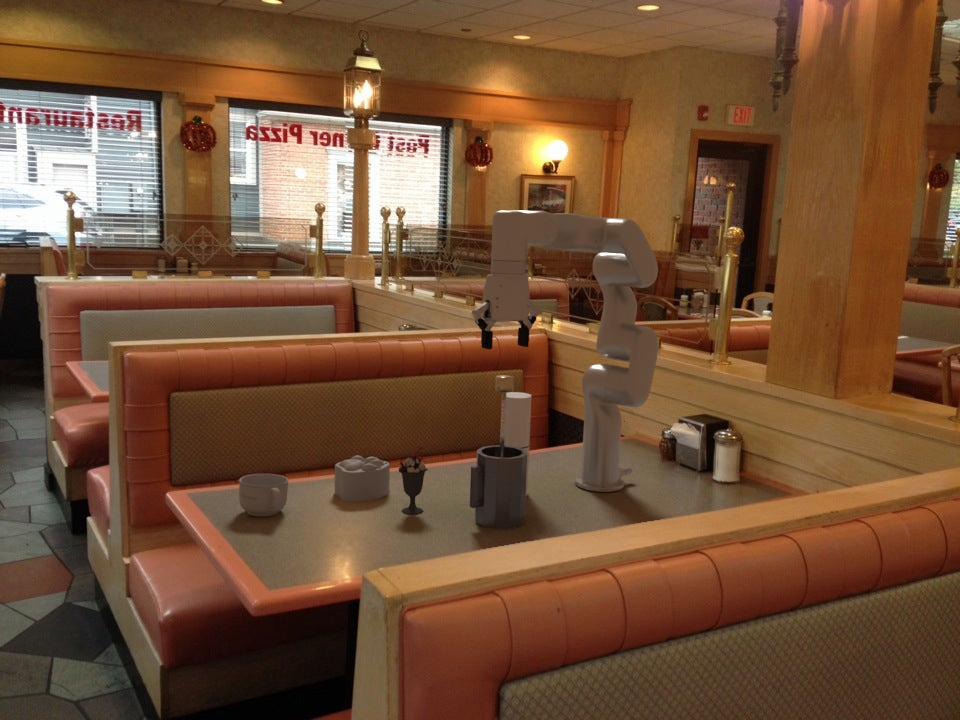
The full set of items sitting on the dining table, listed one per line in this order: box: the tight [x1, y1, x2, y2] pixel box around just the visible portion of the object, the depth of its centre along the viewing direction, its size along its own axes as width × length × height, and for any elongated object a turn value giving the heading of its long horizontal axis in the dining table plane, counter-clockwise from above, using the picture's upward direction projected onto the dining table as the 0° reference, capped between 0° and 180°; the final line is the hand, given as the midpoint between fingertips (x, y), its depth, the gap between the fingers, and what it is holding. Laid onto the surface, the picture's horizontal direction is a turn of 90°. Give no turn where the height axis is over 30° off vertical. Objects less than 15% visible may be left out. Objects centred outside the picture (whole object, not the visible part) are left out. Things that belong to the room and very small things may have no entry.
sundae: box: [398, 446, 428, 515], centre depth 200 cm, size 7×7×15 cm
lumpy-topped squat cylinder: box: [334, 454, 391, 503], centre depth 212 cm, size 10×13×9 cm
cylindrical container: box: [504, 391, 532, 497], centre depth 214 cm, size 7×7×25 cm
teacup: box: [238, 473, 290, 517], centre depth 195 cm, size 14×11×8 cm
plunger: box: [494, 374, 515, 458], centre depth 193 cm, size 8×8×21 cm
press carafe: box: [469, 444, 527, 530], centre depth 195 cm, size 13×11×16 cm
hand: (505, 347), depth 190 cm, fingers open, 9 cm apart
